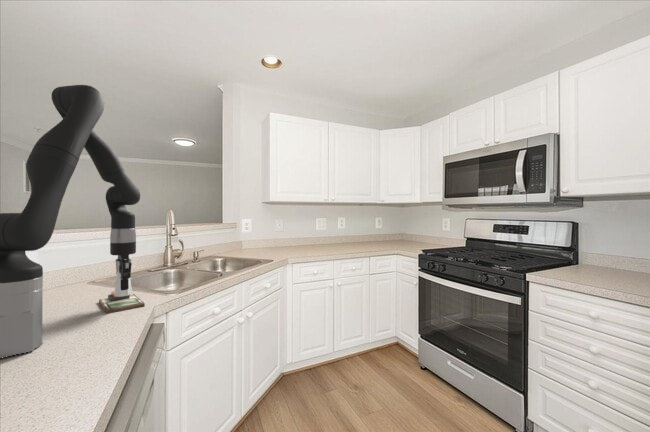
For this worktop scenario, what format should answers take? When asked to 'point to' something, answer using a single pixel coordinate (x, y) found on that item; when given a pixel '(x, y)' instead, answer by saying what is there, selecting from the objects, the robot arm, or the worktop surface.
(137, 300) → the metal control panel
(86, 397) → the worktop surface
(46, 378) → the worktop surface
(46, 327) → the worktop surface
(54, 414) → the worktop surface
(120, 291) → the pepper shaker
